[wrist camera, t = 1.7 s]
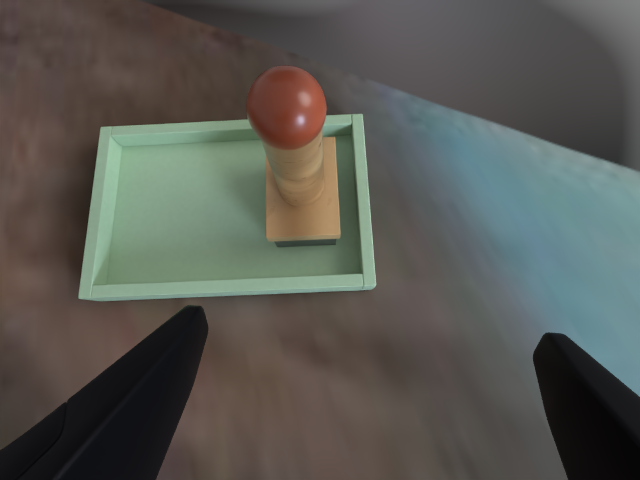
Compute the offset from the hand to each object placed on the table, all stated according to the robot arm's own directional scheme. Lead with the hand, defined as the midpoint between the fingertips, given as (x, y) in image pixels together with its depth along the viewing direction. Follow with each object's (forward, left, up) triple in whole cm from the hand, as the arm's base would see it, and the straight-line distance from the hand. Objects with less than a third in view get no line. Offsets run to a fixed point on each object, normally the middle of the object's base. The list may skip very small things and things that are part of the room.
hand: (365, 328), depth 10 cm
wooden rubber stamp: (+4, +8, -14) cm, 16 cm away
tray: (0, +11, -14) cm, 18 cm away
